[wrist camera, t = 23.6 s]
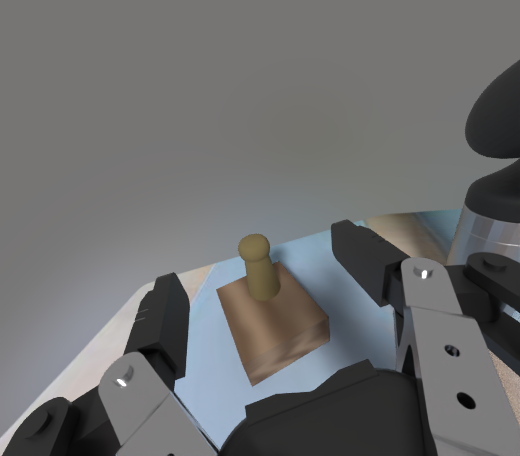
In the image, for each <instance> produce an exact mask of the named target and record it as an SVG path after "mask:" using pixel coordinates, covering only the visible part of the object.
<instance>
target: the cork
mask: <svg viewBox="0 0 520 456" xmlns="http://www.w3.org/2000/svg"><path fill="white" fill-rule="evenodd" d="M238 251H239V254H240V256H241V258H242V259H243V260H245V266H246V274H247V281H248V288H249V294H250V295H251V297H252V298H254V299H255V300H259V301H266V300H269V299H272V298H273V297H275V296H276V295H277V294H278V293H279V291H280V289H281V284H280V282H279V279H278V277H277V274H276V272H275V269H274V267H273V264H272V262H271V259H270V257H269V251H270V244H269V242H268V240H267V238H266V237H264V236H263V235H261V234H251V235H248V236H246V237H244V238H243V239H242V240H241V241H240V243H239V246H238Z"/></svg>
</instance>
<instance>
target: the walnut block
mask: <svg viewBox="0 0 520 456" xmlns="http://www.w3.org/2000/svg"><path fill="white" fill-rule="evenodd" d="M273 267H274V269H275V272H276V274H277V277H278V279H279V282H280V284H281V289H280V291H279V293H278V294H277V295H276V296H275V297H273V298H272V299H269V300H266V301H259V300H255V299H254V298H252V297H251V295H250V294H249V288H248V281H247V276H245V277H243V278H240V279H238V280H236V281H234V282H232V283H229V284H227V285H225V286H223V287H221V288H218V289H216V291H217V293H218V296H219V299H220V302H221V305H222V308H223V311H224V313H225V316H226V319H227V322H228V325H229V328H230V331H231V333H232V336H233V339H234V342H235V345H236V348H237V350H238V353H239V356H240V359H241V362H242V365H243V367H244V369H245V372H246V374H247V376H248V378H249V380H250V383H251V385H252V387H253V386H254V385H256V384H258V383H259V382H261V381H263V380H264V379H266V378H268V377H269V376H271V375H273V374H274V373H276V372H278V371H279V370H281V369H283V368H284V367H286V366H288V365H289V364H291V363H293V362H294V361H296V360H298V359H299V358H301V357H303V356H304V355H306V354H308V353H309V352H311V351H313V350H314V349H316V348H318V347H319V346H321V345H323V344H324V343H326V342H328V341H329V340H330V335H329V320H328V316H327V315H326V314H325V312H324V311H323V310H322V309H321V308H320V307H319V306H318V305H317V303H316V302H315V301H314V300H313V299H312V298H311V297H310V296H309V294H308V293H307V292H306V291H305V290H304V289H303V288H302V287H301V285H300V284H299V283H298V282H297V281H296V280H295V279H294V278H293V276H292V275H291V274H290V273H289V272H288V271H287V270H286V269H285V267H284V266H283V265H282V264H281V263H280V262H279V261H278V262H276V263H274V264H273Z"/></svg>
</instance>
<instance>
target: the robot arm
mask: <svg viewBox="0 0 520 456" xmlns="http://www.w3.org/2000/svg"><path fill="white" fill-rule="evenodd" d="M465 136H466V140H467V142H468V144H469V146H470V147H471V148H472V149H473V150H474V151H475V152H477V153H478V154H481V155H483V156H486V157H491V158H500V159H507V158H520V60H519V61H517V62H516V63H515V64H513V65H512V66H511V67H509V68H508V69H507V70H506V71H504V72H503V73H502V74H501V75H499V76H498V77H497V78H496V79H495V80H494V81H493V82H492V83H491V84H490V85H489V86H488V87H487V88H486V89H485V90H484V92H483V93H482V94H481V95H480V97H479V98H478V100H477V101H476V103H475V104H474V106H473V108H472V110H471V112H470V114H469V116H468V119H467V123H466V127H465ZM331 237H332V251H333V254H334V256H335V258H336V259H337V261H338V262H339V263H340V264H341V265H342V266H343V267H344V268H345V269H346V270H347V272H348V273H349V274H350V275H351V276H352V277H353V278H354V279H355V280H356V281H357V283H358V284H359V285H360V286H361V287H362V288H363V289H364V290H365V291H366V292H367V293H368V295H369V296H370V297H371V298H372V299H373V300H374V301H375V302H376V303H377V304H378V306H379V307H383V306H386V305H388V304H390V305H391V306H392V307H393V308H394V310H393V318H394V331H395V344H396V371H395V370H390V369H382V368H374V367H373V366H372V364H371V363H370V361H369V360H368V359H366V360H364V361H361V362H358V363H356V364H353V365H351V366H348V367H345V368H343V369H340V370H338V371H337V372H336V373H335V374H333V375H332V376H331V377H330V378H328V379H327V380H326V381H325V382H324V383H322V384H321V385H320V386H319V387H317V388H316V389H315V390H313V391H311V392H300V393H283V394H275V395H272V396H270V397H267V398H265V399H262V400H259V401H257V402H254V403H252V404H249V405H246V406H245V410H246V418H245V419H244V420H242V421H241V422H240V423H239V424H238V425H237V426H236V427H235V428H234V430H233V431H232V432H231V434H230V435H229V436H228V438H227V439H226V441H225V442H224V444H223V445H222V447H221V449H219V448H218V447H217V445H216V444H215V443H214V441H213V440H212V439H211V438H210V437H209V435H208V434H207V433H206V432H205V430H204V429H203V428H202V427H201V425H200V424H199V423H198V421H197V420H196V419H195V418H194V416H193V415H192V414H191V412H190V411H189V410H188V408H187V407H186V406H185V405H184V403H183V402H182V401H181V399H180V398H179V397H178V395H177V394H176V393H175V392H174V386H175V380H177V379H180V378H183V377H185V371H186V356H187V342H188V327H189V312H190V303H189V298H188V296H187V293H186V292H185V290H184V288H183V286H182V284H181V282H180V280H179V279H178V277H177V275H176V274H175V273H174V272H173V273H170V274H167V275H164V276H160V277H158V278H157V279H156V282H155V285H154V289H153V290H152V291H149V292H148V293H147V294H146V295H145V297H144V298H143V299H142V301H141V303H140V306H139V309H138V313H137V315H136V318H135V322H134V324H133V327H132V330H131V333H130V336H129V339H128V342H127V345H126V348H125V351H124V354H123V356H122V357H120V358H119V359H117V360H116V361H115V362H114V363H113V364H112V365H111V366H110V367H109V368H108V369H107V370H106V372H105V373H104V375H103V376H102V378H101V381H100V383H99V385H98V386H96V387H95V388H93V389H91V390H90V391H88V392H87V393H85V394H84V395H82V396H80V397H79V398H77V399H76V400H74V401H73V402H70V401H69V400H67V399H66V398H64V397H57V398H53V399H51V400H49V401H47V402H45V403H44V404H42V405H41V406H39V407H38V408H37V409H36V410H34V411H33V412H32V413H31V414H30V415H29V416H28V417H27V418H26V419H25V420H24V421H23V423H22V424H21V425H20V426H19V428H18V429H17V430H16V432H15V433H14V435H13V437H12V438H11V440H10V442H9V444H8V446H7V447H6V449H5V451H4V453H3V455H2V456H116V453H117V456H520V426H519V424H518V421H517V419H516V417H515V414H514V412H513V409H512V407H511V404H510V402H509V399H508V397H507V394H506V392H505V390H504V387H503V385H502V382H501V380H500V377H499V375H498V372H497V370H496V368H495V365H494V363H493V360H492V358H491V355H490V353H489V350H490V351H491V352H493V353H494V354H495V355H496V356H497V357H498V358H499V359H500V360H502V361H503V362H504V363H505V364H506V365H507V366H508V367H509V368H511V369H512V370H513V371H514V372H515V373H516V374H517V375H519V376H520V323H519V322H518V321H517V320H515V319H514V318H512V317H511V316H512V315H513V313H514V311H515V310H516V311H518V312H519V313H520V159H518V160H517V161H516V162H514V163H513V164H511V165H509V166H508V167H506V168H504V169H502V170H499V171H497V172H495V173H493V174H490V175H487V176H485V177H482V178H480V179H478V180H476V181H475V182H474V183H472V184H471V186H470V187H469V189H468V192H467V195H466V198H465V202H464V205H463V208H462V211H461V215H460V218H459V222H458V225H457V229H456V232H455V235H454V239H453V242H452V245H451V249H450V252H449V255H448V259H447V262H446V265H445V266H442V265H441V264H440V263H438V262H436V261H434V260H431V259H428V258H423V257H410V256H408V255H407V254H406V253H404V252H403V251H401V250H400V249H398V248H397V247H395V246H394V245H393V244H391V243H390V242H388V241H385V239H384V238H382V237H381V236H379V235H378V234H377V233H375V232H374V231H372V230H371V229H368V228H366V227H363V226H356V225H355V224H353V223H352V222H350V221H349V220H343V221H340V222H337V223H334V224H332V225H331ZM488 349H489V350H488Z"/></svg>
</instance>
